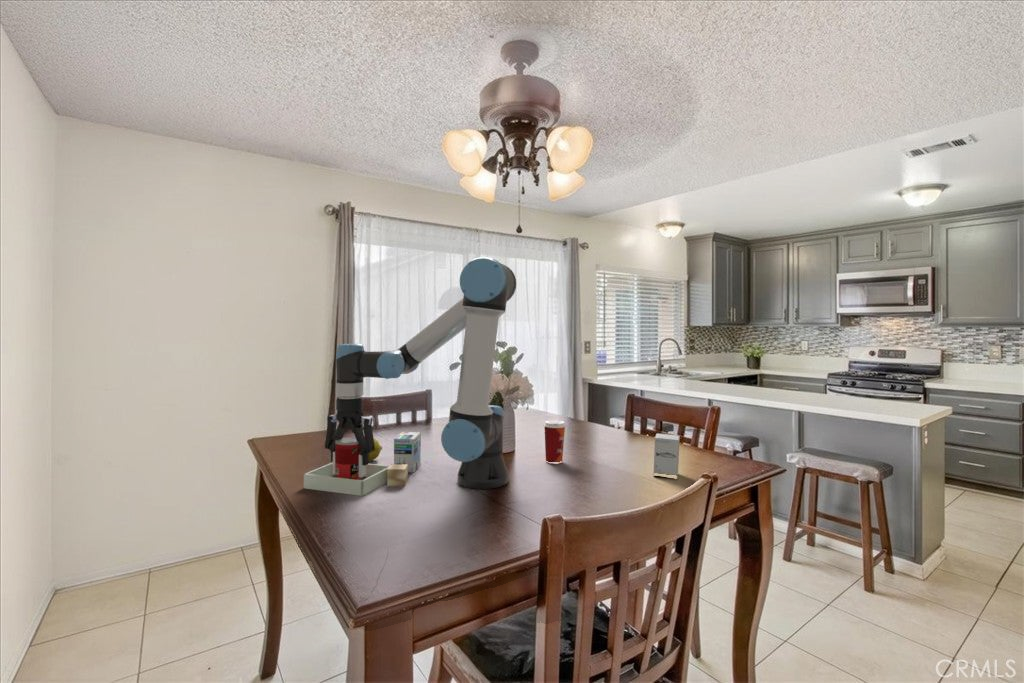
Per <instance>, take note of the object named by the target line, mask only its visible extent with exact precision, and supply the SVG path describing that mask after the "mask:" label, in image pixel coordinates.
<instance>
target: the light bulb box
mask: <svg viewBox="0 0 1024 683" xmlns="http://www.w3.org/2000/svg"><path fill="white" fill-rule="evenodd" d="M421 447H422V432H418V431H417V432H414V431H413V432H410V431H402V432H400V433H399V434H398V435H397V436H396V437H394V438H393V464H408V473H415V472H416V470H417V469H418V468H419V467H420V465H421V464H422V463H421V462H422V461H421V456H422V455H421V452H422V448H421Z"/></svg>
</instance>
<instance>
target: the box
mask: <svg viewBox="0 0 1024 683" xmlns="http://www.w3.org/2000/svg"><path fill="white" fill-rule="evenodd" d="M389 466H390V465H383V464H375V463H368V465H366V475H365V476H363V477H362V478H364V479H363V480H361V479H357V480H354V479H346V478H337V477H336V476H335V474H333V462H330V463H327V464H325V465H323V466H320V467H318V468H315V469H312V470H311V471H308V472H305V473H304V474H303V489H307V490H314V491H322V492H329V493H336V494H346V495H353V496H359V497H360V496H361V497H364V496H365V495H368V494H369V493H371V492H373V491H374V490H376V489H378V488H380V487H381V486H383V485H384V484H385V485H386V484H387V469H388V468H389Z"/></svg>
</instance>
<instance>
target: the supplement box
mask: <svg viewBox="0 0 1024 683" xmlns="http://www.w3.org/2000/svg"><path fill="white" fill-rule="evenodd" d="M680 440H681V435H675V434H668V433H667V434H666V433H656V434H655V437H654V451H653V452H654V453H653V474H654V473H658V474H666V475H676V476H677V475H678V476H679V465H680V464H679V463H680Z"/></svg>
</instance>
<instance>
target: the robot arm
mask: <svg viewBox="0 0 1024 683" xmlns="http://www.w3.org/2000/svg"><path fill="white" fill-rule="evenodd" d="M459 287H460V290H461V292H462V294H463V296H462V298H461V299H460V300H459V301H458V302H456V303H455V304H454V305H453V306H451V307H450V308H449V309H447V310H446V311H445V312H443V313H442V314H441V315H440V316H438V317H437V318H436V319H434V320H433V321H432V322H431V323H429V324H428V325H427V326H425V327H424V328H423V329H422V330H420V331H419V332H418V333H417V334H416V335H415V336H413V337H411V338H410V339H409V340H408V341H406V342H405V344H403V345H402V346H400V347H399V348H398V349H395V350H387V351H386V350H384V351H367V350H365V347H364V345H363V344H361V343H341V344H338V345H337V347H336V355H335V356H336V358H335V362H336V363H335V365H336V368H335V369H336V383H335V395H336V397H337V398H336V400H335V410H336V411H337V412H336V414H331V415H327V418H326V419H327V429H326V435H325V441H324V442H325V443H324V449H325V450H326V449H327V450H329V452H330V463H332V462H333V474H335V442H336V440H339V439H342V438H344V435H345V433H346V431H347V430H349V431H350V430H351V432H352V433H353V434H354V437H356V440H357V442H358V443H359V448H360V451H361V454H359V477H360V479H362V478H364V477H363V476H365V475H366V465H368V464H370V463H369V462H370V461H369V453H370V452H373V451H375V445H374V439H375V438H374V432H373V417H366V416H364V414H363V410H364V397H362V396H364V378H374V379H375V378H377V379H378V378H379V379H387V380H389V379H398V378H400V377H401V375H407V374H410V373H413V372H415V371H416V370H417V369H418V368H419V365H420V364H421V363H423V361H424V360H426V359H428V358H429V357H430V356H431V355H432V354H434V353H435V352H436V351H437V350H438V349H440V348H441V347H443V346H445V344H447V343H448V342H449V341H450V340H452V339H454V337H456V336H457V335H458V334H460V333H461V332H462V331H464V337H463V346H462V353H461V355H462V356H461V362H460V363H461V364H460V371H459V373H460V374H459V380H458V387H457V388H458V390H457V397H456V398H457V399H456V401H455V403H453V404H452V405H451V406H450V409H449V414H448V415H449V417H448V422H447V423H446V425H445V426H444V428H443V429H442V432H441V436H440V437H441V438H440V440H441V442H440V443H441V445H442V448H443V450H444V451H445V453H446V454H447V455H448V456H449V457H450V458H451V459H453V460H454V461H457V462H461V463H460V467H459V469H458V471H457V483H458V484H459V485H460V486H462V487H464V488H468V489H475V490H487V489H489V490H490V489H497V488H501V487H503V485H504V486H506V485H507V484H508V482H509V473H508V470H507V466H506V463H505V459H504V457H503V446H504V445H503V444H504V441H503V440H504V418H505V417H504V409H503V407H502V406H501V405H500V406H499V405H492V404H489V402H490V393H491V386H492V385H491V384H492V377H493V370H494V362H495V352H496V345H497V335H498V328H499V327H498V326H499V320H500V317H501V316H503V315H504V314H505V313H506V309H507V302H508V301H510V300H511V298H512V297H513V296H514V294H515V293H516V289H517V278H516V276H515V273H514V272H513V270H512V269H511V268H510V267H508V266H507V265H505V264H503V263H501V262H499V261H498V260H496V259H495V258H490V257H477V258H474V259H472V260H470V261H469V262H467V263H466V265H464V267H463V268H462V270H461V273H460V276H459ZM337 422H338V423H337ZM361 477H362V478H361Z"/></svg>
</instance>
